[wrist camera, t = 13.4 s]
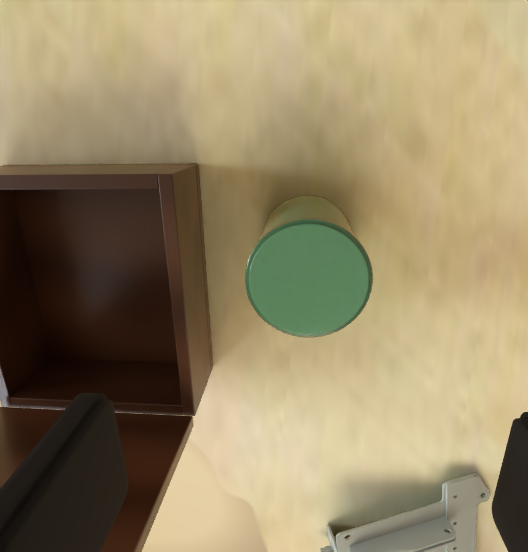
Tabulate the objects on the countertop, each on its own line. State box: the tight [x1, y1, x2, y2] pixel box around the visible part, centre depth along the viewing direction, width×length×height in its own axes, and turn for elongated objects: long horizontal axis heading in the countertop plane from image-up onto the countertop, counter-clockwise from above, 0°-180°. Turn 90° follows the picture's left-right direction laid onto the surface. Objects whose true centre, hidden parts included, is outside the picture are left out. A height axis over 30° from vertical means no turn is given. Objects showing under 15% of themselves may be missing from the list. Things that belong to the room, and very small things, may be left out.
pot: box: [245, 196, 373, 337], centre depth 24 cm, size 6×6×8 cm
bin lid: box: [0, 407, 193, 552], centre depth 19 cm, size 16×14×1 cm
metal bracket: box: [320, 473, 490, 552], centre depth 36 cm, size 14×6×15 cm
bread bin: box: [0, 163, 213, 416], centre depth 27 cm, size 16×14×6 cm
